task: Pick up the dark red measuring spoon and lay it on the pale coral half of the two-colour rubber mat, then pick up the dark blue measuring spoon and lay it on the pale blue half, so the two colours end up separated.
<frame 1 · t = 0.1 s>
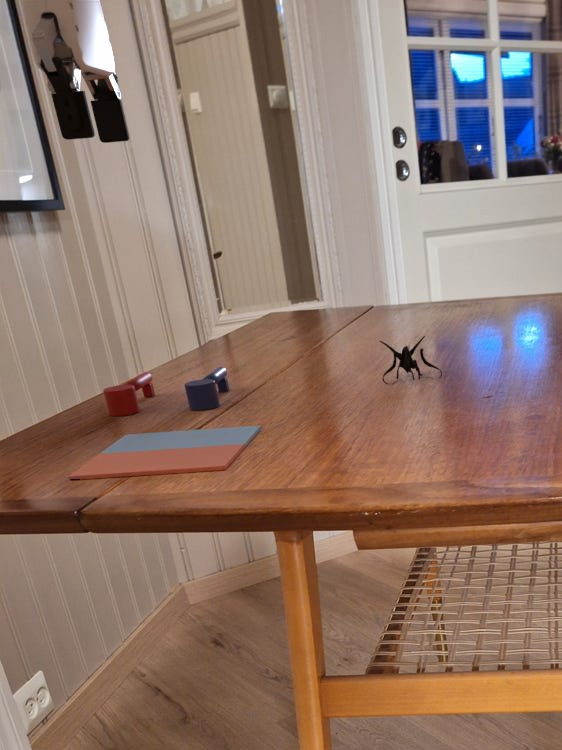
hand: (98, 140, 93), 29 cm above the table, tool pointing down, fingers open, 9 cm apart
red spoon: (125, 412, 107), on the table
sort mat: (172, 452, 88), on the table
creature: (411, 381, 113), on the table
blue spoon: (204, 407, 106), on the table
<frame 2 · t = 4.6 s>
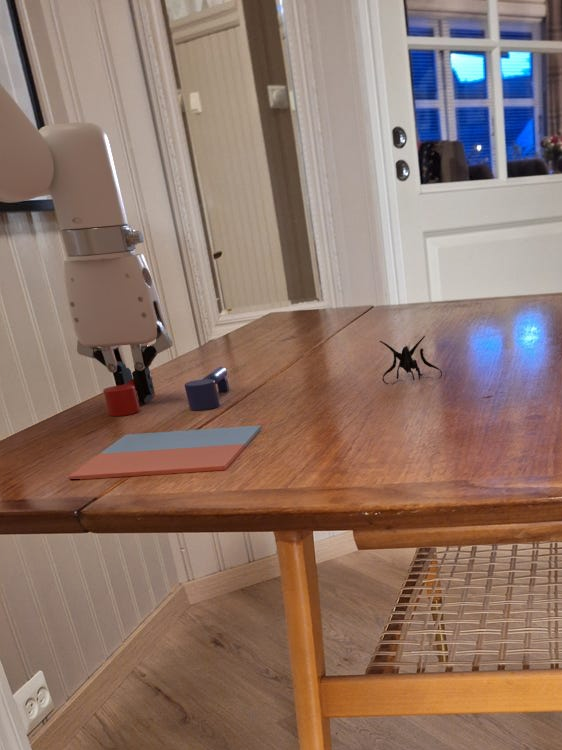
hand: (138, 400, 111), 0 cm above the table, tool pointing down, fingers closed on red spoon
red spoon: (125, 412, 107), on the table, touching gripper
everything else where it was.
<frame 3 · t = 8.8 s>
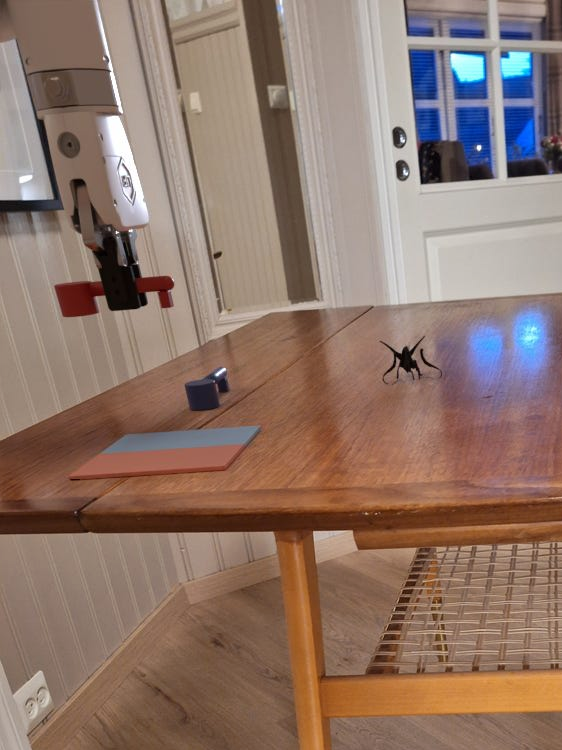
hand: (128, 307, 89), 13 cm above the table, tool pointing down, fingers closed on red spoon
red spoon: (81, 314, 89), point 13 cm above the table, touching gripper
everything else where it was.
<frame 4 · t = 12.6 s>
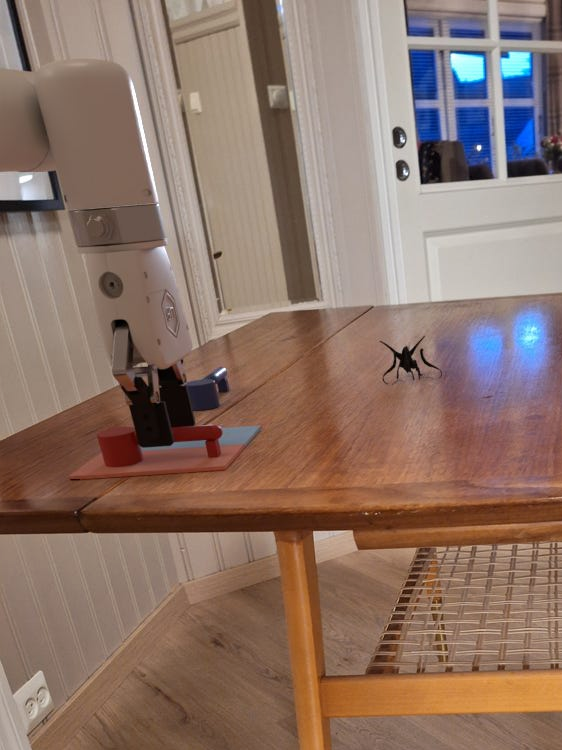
hand: (168, 434, 84), 3 cm above the table, tool pointing down, fingers open, 6 cm apart
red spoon: (124, 461, 85), resting on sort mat
everything else where it was.
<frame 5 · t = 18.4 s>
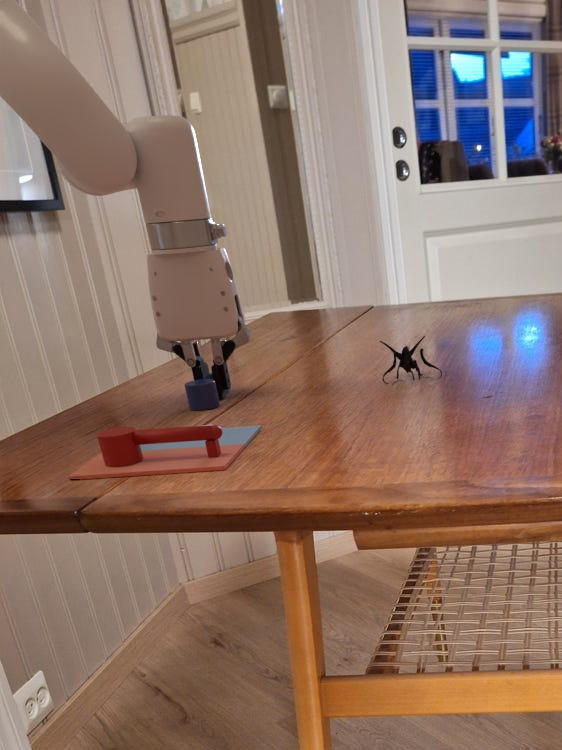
hand: (215, 395, 111), 0 cm above the table, tool pointing down, fingers closed on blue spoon
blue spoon: (204, 407, 106), on the table, touching gripper
everything else where it was.
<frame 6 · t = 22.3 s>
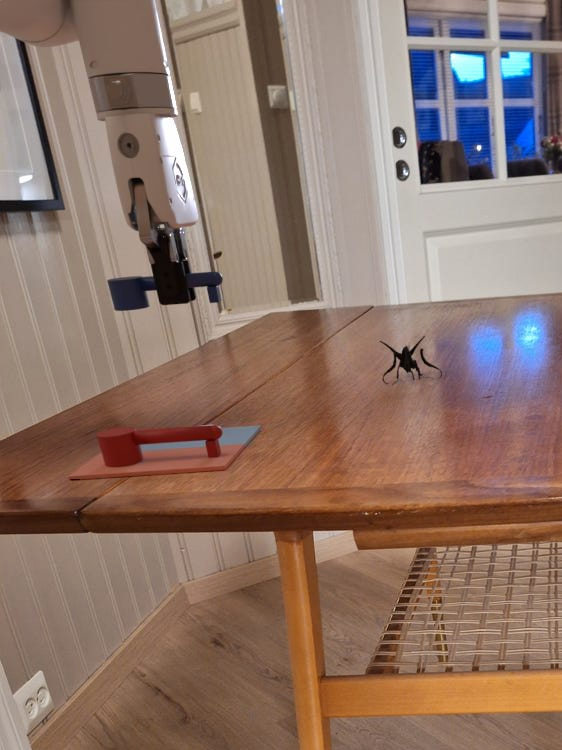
hand: (178, 301, 92), 13 cm above the table, tool pointing down, fingers closed on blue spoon
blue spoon: (132, 308, 93), point 13 cm above the table, touching gripper
everything else where it was.
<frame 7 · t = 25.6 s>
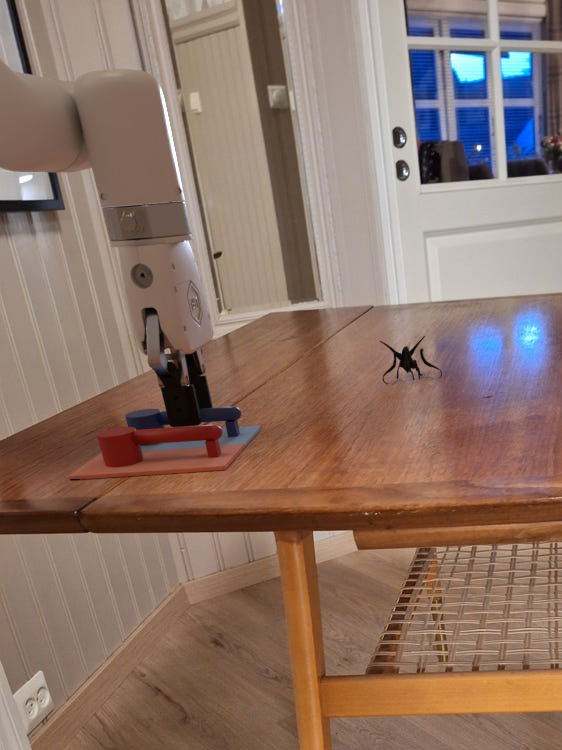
hand: (192, 418, 90), 2 cm above the table, tool pointing down, fingers open, 3 cm apart
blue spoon: (150, 441, 92), resting on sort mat
everything else where it was.
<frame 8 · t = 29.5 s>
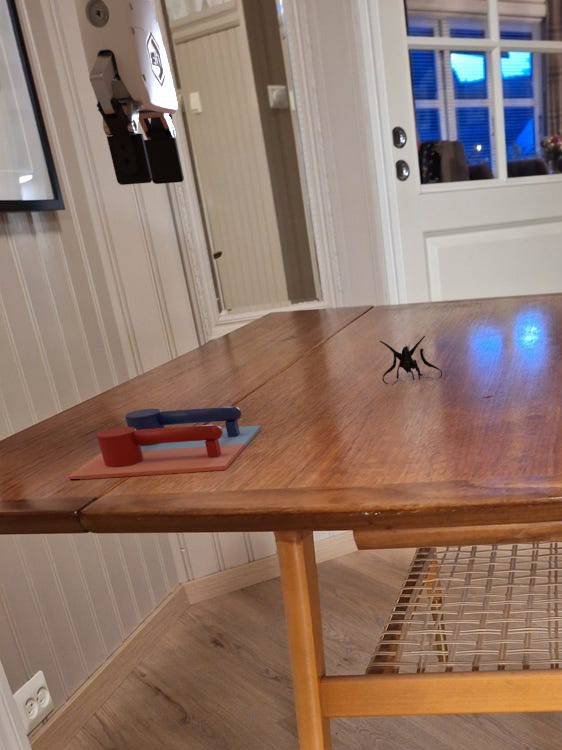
hand: (153, 183, 86), 24 cm above the table, tool pointing down, fingers open, 9 cm apart
nothing on the table moved.
at the end: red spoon inside the target area on the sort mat (3.5 cm from its centre), point 0.4 cm above the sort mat's base; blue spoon inside the target area on the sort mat (3.5 cm from its centre), point 0.4 cm above the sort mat's base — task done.
